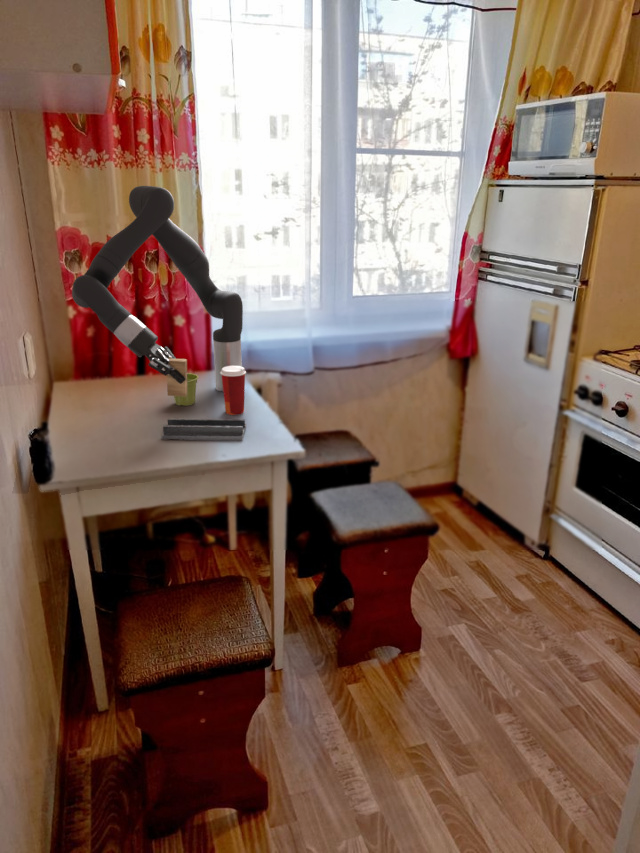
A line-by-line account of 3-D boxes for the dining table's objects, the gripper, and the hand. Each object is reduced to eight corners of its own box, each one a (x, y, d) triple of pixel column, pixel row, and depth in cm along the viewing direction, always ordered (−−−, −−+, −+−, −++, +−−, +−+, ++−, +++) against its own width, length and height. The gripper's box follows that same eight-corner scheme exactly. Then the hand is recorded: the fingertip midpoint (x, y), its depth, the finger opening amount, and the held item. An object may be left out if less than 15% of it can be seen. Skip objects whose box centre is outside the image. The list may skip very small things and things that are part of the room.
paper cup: (251, 409, 192) (250, 366, 187) (240, 417, 185) (238, 373, 180) (229, 406, 194) (227, 364, 189) (217, 414, 188) (215, 370, 183)
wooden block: (169, 392, 171) (168, 358, 167) (187, 393, 171) (186, 359, 168) (167, 395, 169) (166, 360, 165) (185, 396, 169) (184, 361, 165)
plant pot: (177, 409, 191) (175, 383, 188) (165, 401, 198) (163, 376, 195) (204, 404, 196) (203, 378, 193) (192, 396, 203) (190, 371, 200)
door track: (170, 426, 178) (169, 416, 177) (246, 427, 178) (245, 417, 177) (162, 439, 168) (161, 428, 167) (242, 440, 168) (241, 429, 167)
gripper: (137, 332, 157) (188, 378, 161) (151, 320, 169) (198, 363, 174) (118, 352, 159) (169, 397, 163) (134, 339, 171) (181, 381, 176)
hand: (184, 379), depth 168 cm, fingers closed on wooden block, 2 cm apart
